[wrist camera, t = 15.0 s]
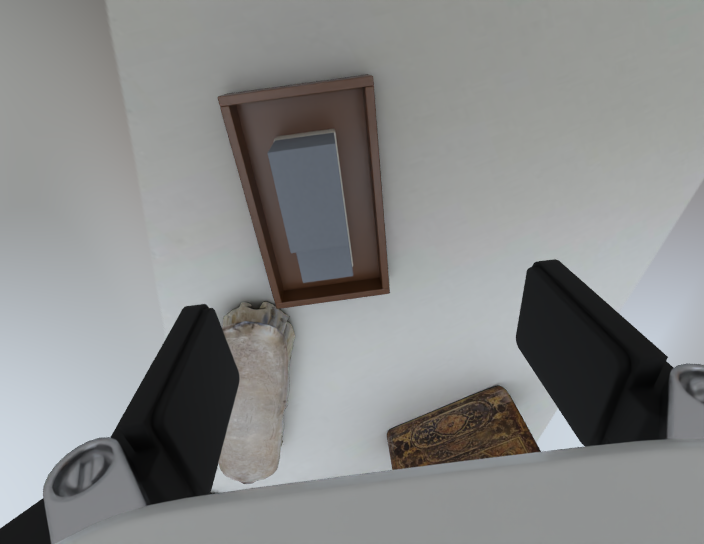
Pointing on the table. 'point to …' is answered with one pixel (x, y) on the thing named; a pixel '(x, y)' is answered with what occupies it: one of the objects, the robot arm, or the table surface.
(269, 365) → the shoe brush
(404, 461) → the book
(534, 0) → the table surface
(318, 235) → the grey stepped block
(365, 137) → the tray
